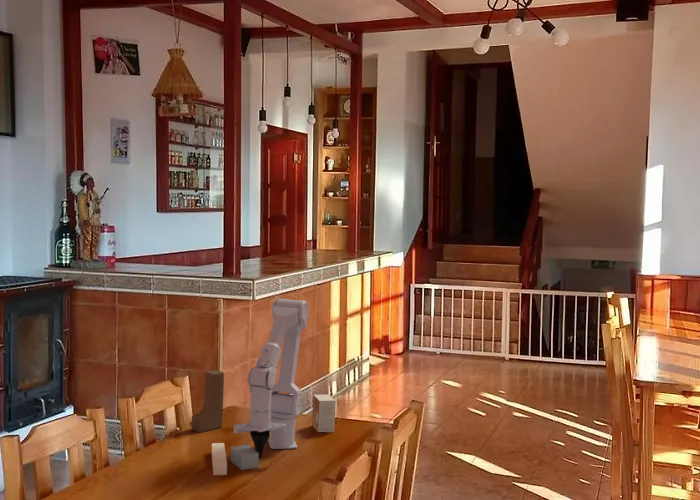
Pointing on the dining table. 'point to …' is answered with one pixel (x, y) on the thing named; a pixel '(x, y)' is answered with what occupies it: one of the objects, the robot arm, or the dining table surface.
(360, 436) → the dining table surface
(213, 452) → the beige rectangular bar
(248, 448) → the block
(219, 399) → the wooden block
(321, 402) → the small box
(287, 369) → the robot arm
